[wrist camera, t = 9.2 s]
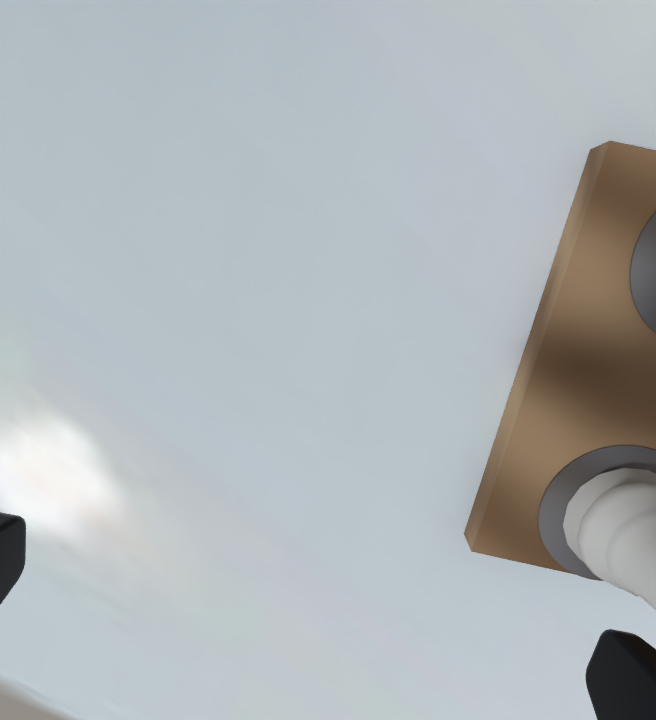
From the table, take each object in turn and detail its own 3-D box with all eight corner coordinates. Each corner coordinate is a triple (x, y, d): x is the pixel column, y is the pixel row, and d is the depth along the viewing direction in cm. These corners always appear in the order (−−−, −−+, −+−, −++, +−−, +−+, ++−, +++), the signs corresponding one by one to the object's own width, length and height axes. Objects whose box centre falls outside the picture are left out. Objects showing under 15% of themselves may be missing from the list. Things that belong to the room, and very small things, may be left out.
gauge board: (590, 149, 16) (611, 139, 14) (862, 210, 16) (908, 205, 14) (464, 533, 19) (472, 553, 18) (684, 582, 19) (708, 605, 18)
